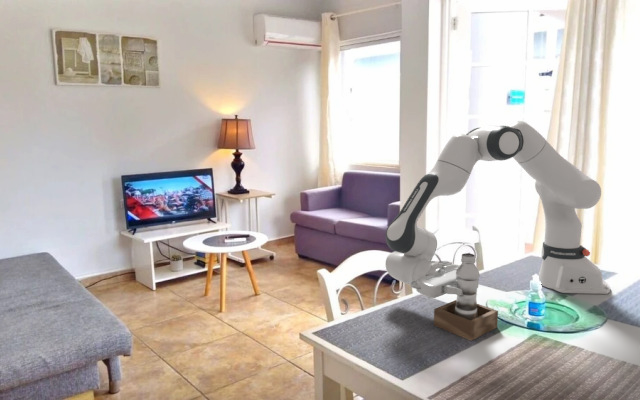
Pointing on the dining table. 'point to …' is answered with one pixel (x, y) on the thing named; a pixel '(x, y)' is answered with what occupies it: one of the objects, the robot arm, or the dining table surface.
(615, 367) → the dining table surface
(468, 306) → the plastic bottle
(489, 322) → the open wooden box
